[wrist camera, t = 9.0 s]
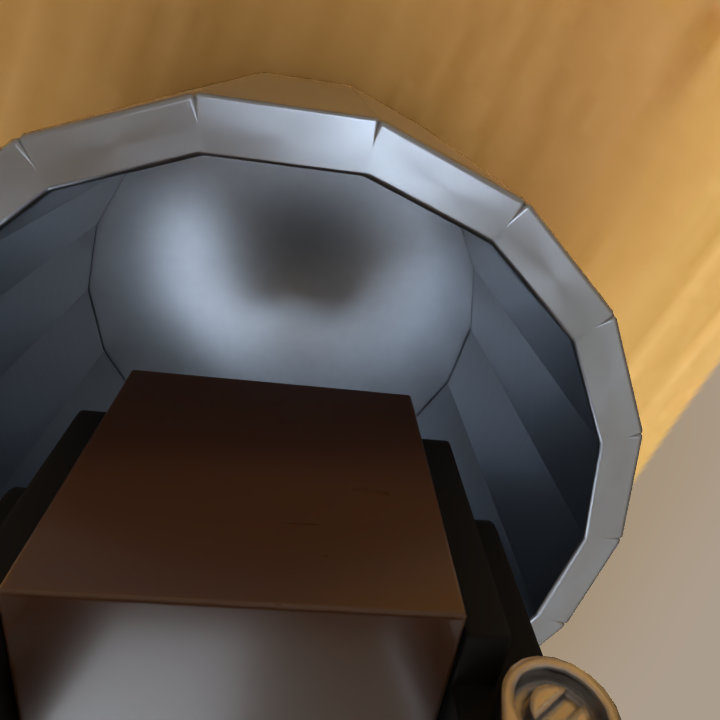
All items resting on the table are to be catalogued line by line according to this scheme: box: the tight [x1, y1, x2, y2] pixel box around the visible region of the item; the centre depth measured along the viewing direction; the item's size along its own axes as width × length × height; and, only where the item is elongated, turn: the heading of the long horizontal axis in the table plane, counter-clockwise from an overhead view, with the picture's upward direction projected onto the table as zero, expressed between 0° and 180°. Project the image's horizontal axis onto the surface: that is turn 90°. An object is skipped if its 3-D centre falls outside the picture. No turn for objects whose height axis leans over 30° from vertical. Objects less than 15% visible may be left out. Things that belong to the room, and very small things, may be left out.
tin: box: [0, 73, 642, 646], centre depth 14 cm, size 12×13×10 cm
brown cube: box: [0, 370, 467, 720], centre depth 9 cm, size 4×4×4 cm
